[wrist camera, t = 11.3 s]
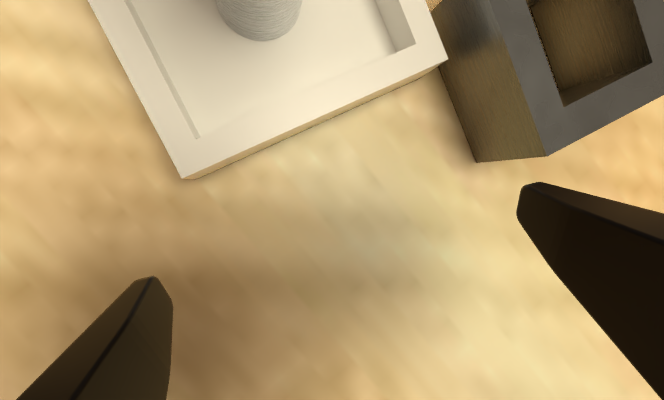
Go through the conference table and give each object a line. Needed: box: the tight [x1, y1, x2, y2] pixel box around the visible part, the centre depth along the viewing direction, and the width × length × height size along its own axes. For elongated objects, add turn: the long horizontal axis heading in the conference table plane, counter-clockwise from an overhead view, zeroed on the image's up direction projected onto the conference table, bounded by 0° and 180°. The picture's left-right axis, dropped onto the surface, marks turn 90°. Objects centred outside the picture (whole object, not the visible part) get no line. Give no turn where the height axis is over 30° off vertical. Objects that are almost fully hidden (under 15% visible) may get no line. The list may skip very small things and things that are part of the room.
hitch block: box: [430, 0, 664, 163], centre depth 17 cm, size 8×8×5 cm
